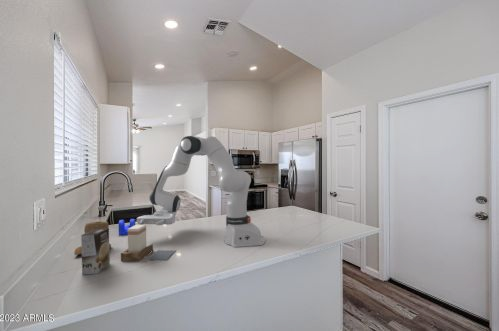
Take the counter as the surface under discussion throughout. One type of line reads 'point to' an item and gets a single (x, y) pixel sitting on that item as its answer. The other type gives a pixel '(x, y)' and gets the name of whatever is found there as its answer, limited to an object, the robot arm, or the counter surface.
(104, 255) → the coffee box
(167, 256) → the mat
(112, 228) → the counter surface
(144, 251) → the holder
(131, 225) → the bracket
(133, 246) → the striped white pillar
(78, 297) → the counter surface
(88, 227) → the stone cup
